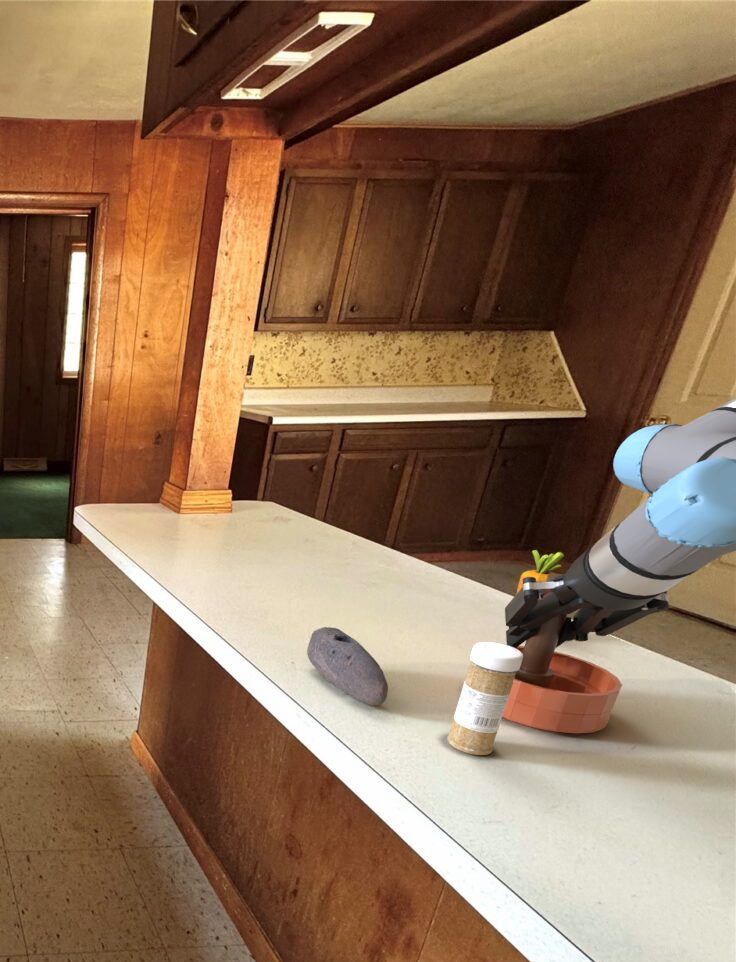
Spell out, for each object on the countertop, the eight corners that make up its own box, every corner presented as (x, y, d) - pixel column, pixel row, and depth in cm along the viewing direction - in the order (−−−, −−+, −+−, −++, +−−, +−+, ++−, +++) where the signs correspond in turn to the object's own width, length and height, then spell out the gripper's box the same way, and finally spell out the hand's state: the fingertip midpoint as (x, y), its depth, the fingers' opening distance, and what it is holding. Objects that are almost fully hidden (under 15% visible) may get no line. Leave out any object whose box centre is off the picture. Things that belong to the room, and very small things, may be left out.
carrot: (495, 630, 112) (521, 545, 106) (528, 631, 111) (556, 545, 106) (515, 642, 107) (543, 555, 102) (549, 643, 107) (579, 555, 101)
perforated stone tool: (397, 715, 89) (409, 669, 86) (358, 716, 89) (369, 670, 86) (334, 664, 103) (342, 623, 100) (300, 665, 103) (308, 624, 100)
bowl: (591, 697, 91) (606, 659, 89) (618, 749, 80) (636, 706, 78) (463, 674, 98) (473, 637, 96) (471, 718, 87) (484, 678, 85)
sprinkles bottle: (489, 742, 82) (521, 645, 77) (493, 761, 79) (527, 660, 74) (444, 732, 85) (472, 637, 80) (446, 750, 81) (475, 652, 76)
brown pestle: (544, 684, 91) (582, 575, 85) (550, 698, 87) (590, 585, 81) (503, 677, 93) (537, 570, 87) (507, 690, 90) (543, 580, 84)
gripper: (726, 541, 70) (598, 624, 90) (534, 530, 75) (455, 610, 96) (737, 606, 67) (603, 676, 87) (538, 589, 73) (456, 658, 93)
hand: (526, 642), depth 91 cm, fingers closed on brown pestle, 3 cm apart
